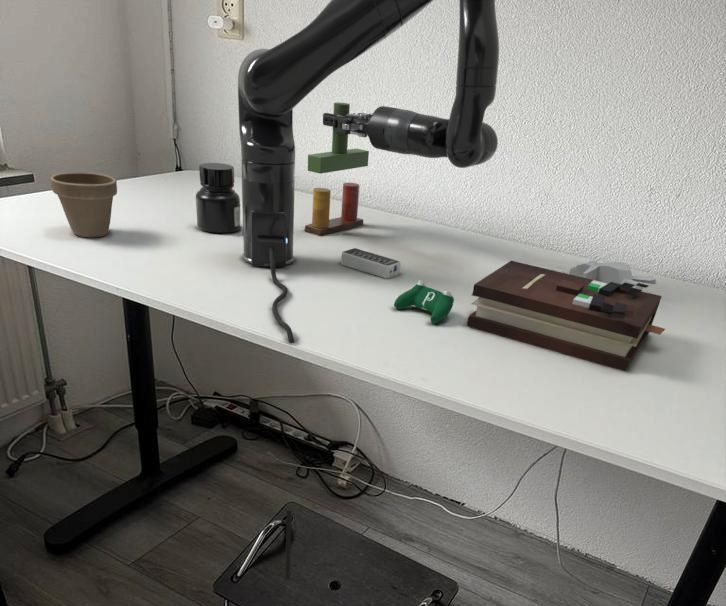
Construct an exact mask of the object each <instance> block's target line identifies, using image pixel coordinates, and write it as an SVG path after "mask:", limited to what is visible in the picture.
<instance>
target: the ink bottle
mask: <svg viewBox="0 0 726 606" xmlns="http://www.w3.org/2000/svg"><path fill="white" fill-rule="evenodd" d="M198 169H199V170H198V171H199V172H198V173H199V181H200V186H201V188H200V189H198V191H197V192H196V194H195V207H196V208H195V209H196V224H197V227H198V228H199V229H200V230H201V231H204V232H208V233H212V234H214V233H215V234H228V233H234V232H237V231H239V230H240V229H241V223H242V222H241V197H240V195H239V194H238V193H237V192H236V191H235V189H234V187H235V168H234V165H231V164H227V163H222V162H221V163H220V162H205V163H201V164H199V165H198Z"/></svg>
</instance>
